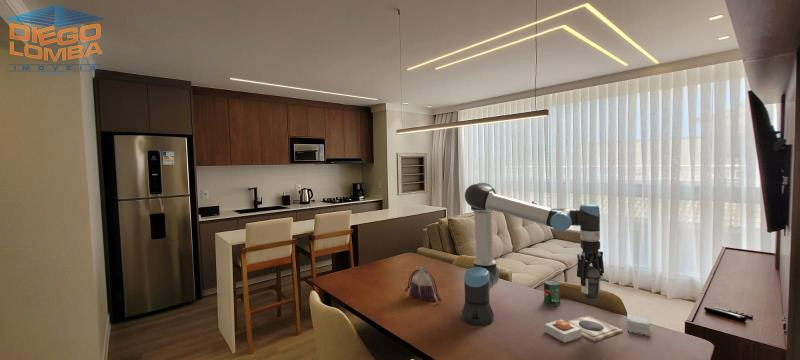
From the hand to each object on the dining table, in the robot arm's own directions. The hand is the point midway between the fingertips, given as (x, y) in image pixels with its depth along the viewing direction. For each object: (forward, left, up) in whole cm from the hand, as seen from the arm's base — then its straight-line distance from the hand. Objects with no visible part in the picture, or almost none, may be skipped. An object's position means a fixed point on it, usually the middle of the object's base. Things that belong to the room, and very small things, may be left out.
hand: (590, 291), depth 146 cm
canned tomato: (+8, +28, -17) cm, 34 cm away
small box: (+17, -10, -17) cm, 26 cm away
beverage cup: (0, 0, -5) cm, 5 cm away
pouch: (-50, +65, -17) cm, 84 cm away
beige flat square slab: (0, 0, -17) cm, 17 cm away
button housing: (-15, +2, -17) cm, 23 cm away
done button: (-15, +2, -14) cm, 21 cm away
